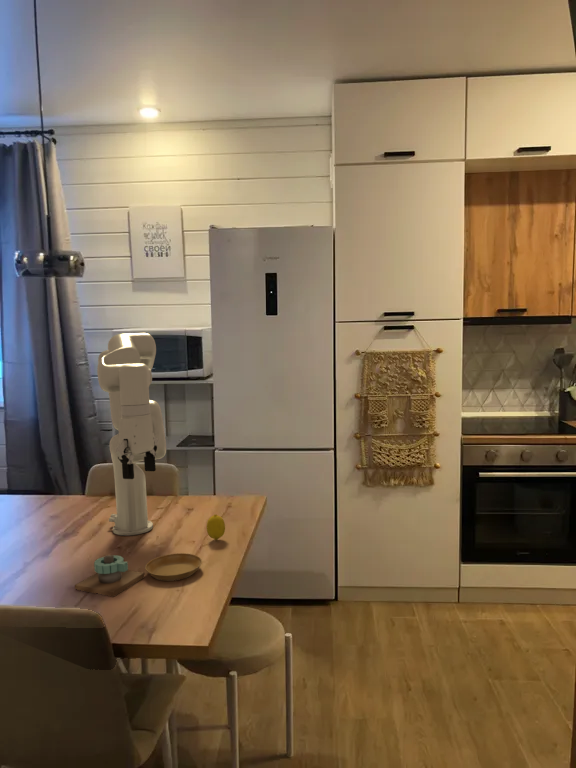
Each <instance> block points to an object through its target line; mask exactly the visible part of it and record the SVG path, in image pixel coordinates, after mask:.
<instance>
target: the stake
mask: <svg viewBox="0 0 576 768" xmlns="http://www.w3.org/2000/svg"><path fill="white" fill-rule="evenodd" d="M113 555H114V554H109V555H108V554H107V555H105V556H103V557H104V564H109V563H113V562H114V556H113ZM144 578H145V572H142V571H141V572H140V571H134V570H129V569H128V570H127V571H125V572H120V571H117V572H114V573H110V574H104V573H103V574H100V573H96V572H95V573H94V574H92V575H90V576H89V577H86V578H85V579H82V580H81V581H79V582H78V583H76V584H74V589H77V590H76V591H80V590H81V592H85V591H86V593H91V594H96V593H98V594H97V595H101V594H102V595H101V596H107V595H108V597H112V596H113V598H114V597H116V596H117V595H119V594H120V593H122V592H124V591H125V590H127V589H128V588H130V587H132V586H133V585H134V584H136V583H138V582H139V581H141V580H143V579H144ZM123 590H124V591H123ZM115 595H116V596H115Z"/></svg>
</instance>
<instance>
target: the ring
mask: <svg viewBox="0 0 576 768" xmlns="http://www.w3.org/2000/svg"><path fill="white" fill-rule="evenodd" d="M112 555H113V556H114V562H113V563H109V564H104V557H105V556H102V557H99V558H98V559H95V561H94V564H93V567H94V568H93V569H94V572H95V574H96V573H100V574H103V573H104V574H110V573H114V572H117V571H120V572H125V571H127V570H129V565H128V562H129V561H124V559H125V558H124V557H123V556H121V555H114V554H112Z"/></svg>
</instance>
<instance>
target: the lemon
mask: <svg viewBox="0 0 576 768" xmlns="http://www.w3.org/2000/svg"><path fill="white" fill-rule="evenodd" d="M225 531H226V524H225V521H224V518H223V517H222V516H220V515H217V514H213V515H212V516H210V517H209V518H208V519H207V522H206V532H207V533H206V534H208V536H209V538H211V539H213V540H215V541H218V540H219V539H220V538H222V537H223V536H224V534H225Z"/></svg>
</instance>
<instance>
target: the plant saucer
mask: <svg viewBox="0 0 576 768" xmlns="http://www.w3.org/2000/svg"><path fill="white" fill-rule="evenodd" d="M202 563H203V559H202V558H201V557H200V556H198V555H196V554H192V553H184V552H180V553H176V552H175V553H169V554H164V555H160V556H157V557H154V558H153V559H151V560H150V561H148V562H147V563H146V564H145V567H144V569H145V570H146V572H147V573H148V574H149V575H150V576H152V578H154V579H156V580H157V581H164V582H171V581H172V582H174V580H175V581H180V579H181V580H183V579H187V578H189V577H191V576H193V575H194V574H195V573H196V571H198V569H199V568H200V567H201V565H202Z"/></svg>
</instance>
